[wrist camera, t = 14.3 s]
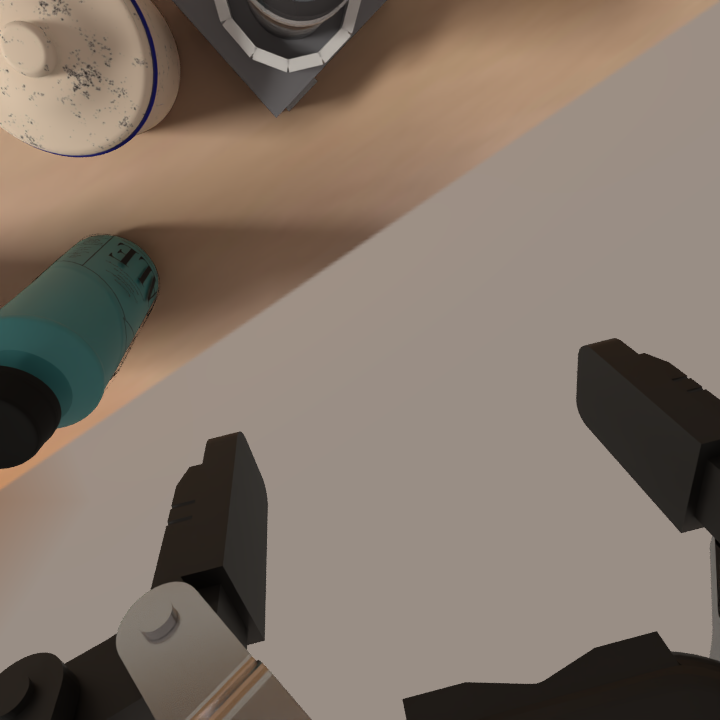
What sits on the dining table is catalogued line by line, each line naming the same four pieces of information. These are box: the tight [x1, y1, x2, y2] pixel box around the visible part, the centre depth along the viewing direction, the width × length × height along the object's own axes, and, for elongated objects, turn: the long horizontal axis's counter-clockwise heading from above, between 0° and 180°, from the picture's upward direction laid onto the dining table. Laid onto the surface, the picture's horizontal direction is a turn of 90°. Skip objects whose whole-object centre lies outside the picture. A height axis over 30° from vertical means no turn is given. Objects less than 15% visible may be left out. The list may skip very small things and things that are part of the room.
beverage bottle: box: [0, 234, 160, 469], centre depth 28 cm, size 6×7×20 cm
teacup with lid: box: [0, 0, 180, 157], centre depth 25 cm, size 12×9×12 cm
